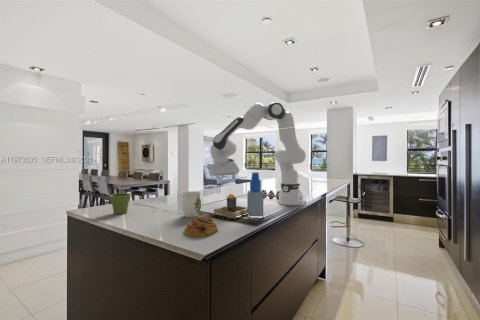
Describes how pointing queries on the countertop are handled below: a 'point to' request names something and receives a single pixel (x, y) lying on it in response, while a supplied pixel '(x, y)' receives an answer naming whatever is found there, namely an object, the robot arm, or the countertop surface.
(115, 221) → the countertop surface
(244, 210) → the birch tray
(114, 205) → the plant pot
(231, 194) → the orange ball
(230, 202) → the black shaker
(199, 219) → the pastry
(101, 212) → the countertop surface
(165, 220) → the countertop surface
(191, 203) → the pitcher
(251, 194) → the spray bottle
